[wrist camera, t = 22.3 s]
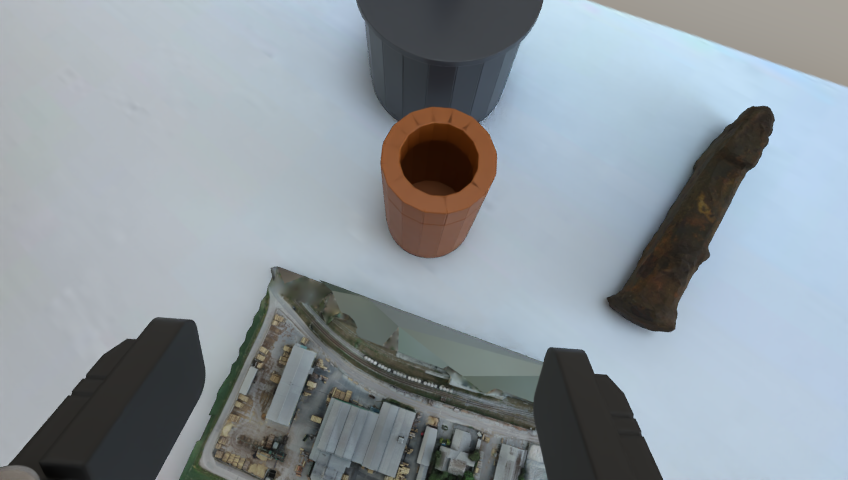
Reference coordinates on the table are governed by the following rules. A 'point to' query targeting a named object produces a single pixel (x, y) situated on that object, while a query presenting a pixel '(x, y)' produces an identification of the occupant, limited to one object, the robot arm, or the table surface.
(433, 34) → the tin lid
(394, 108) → the tin
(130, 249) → the table surface
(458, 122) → the jar
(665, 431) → the table surface
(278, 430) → the model
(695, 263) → the hand tool
